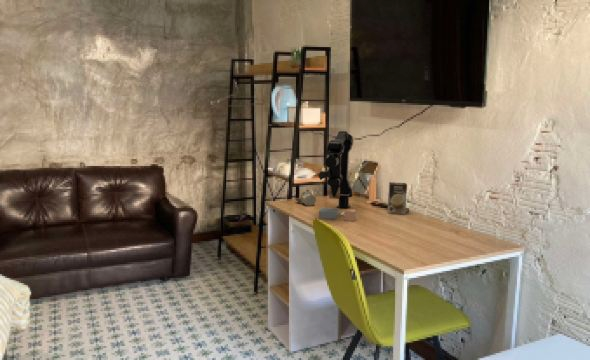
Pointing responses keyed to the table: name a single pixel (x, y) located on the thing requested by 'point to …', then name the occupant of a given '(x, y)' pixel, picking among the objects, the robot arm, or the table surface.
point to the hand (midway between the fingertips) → (334, 195)
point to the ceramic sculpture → (307, 198)
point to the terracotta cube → (350, 215)
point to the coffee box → (397, 198)
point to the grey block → (329, 213)
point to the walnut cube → (332, 194)
